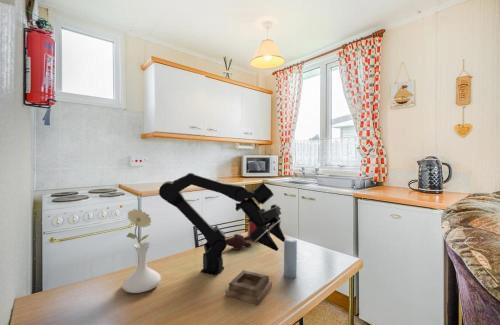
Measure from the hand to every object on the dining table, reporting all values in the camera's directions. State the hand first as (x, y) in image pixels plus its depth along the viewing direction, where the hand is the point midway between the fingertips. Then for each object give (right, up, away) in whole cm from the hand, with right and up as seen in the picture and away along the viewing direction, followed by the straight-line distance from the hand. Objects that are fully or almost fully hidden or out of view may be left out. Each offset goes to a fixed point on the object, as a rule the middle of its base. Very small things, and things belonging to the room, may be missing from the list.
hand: (281, 245), depth 86 cm
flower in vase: (-47, -10, -9) cm, 49 cm away
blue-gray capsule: (+3, -10, -1) cm, 11 cm away
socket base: (-12, -10, -11) cm, 19 cm away
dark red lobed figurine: (-17, -10, +23) cm, 31 cm away
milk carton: (-8, -9, +38) cm, 40 cm away
